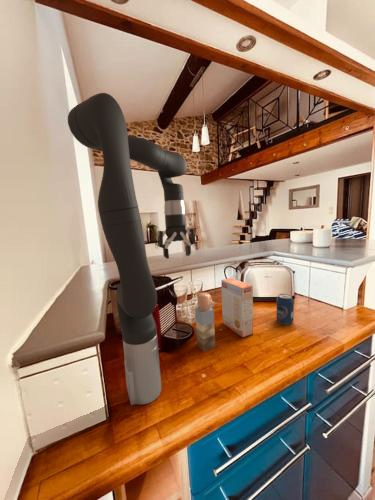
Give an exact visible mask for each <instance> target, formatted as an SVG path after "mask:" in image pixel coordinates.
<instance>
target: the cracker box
mask: <svg viewBox="0 0 375 500" xmlns="http://www.w3.org/2000/svg"><path fill="white" fill-rule="evenodd" d="M253 289H254V288H253V285H252V284H249V283H247V282H243V281H241V280H238V279H236V278H233V277H229V278H225V279H221V306H222V307H221V309H222V314H221V315H222V324H223V325H224V326H226V327H227V328H229V329H230V330H231V331H232V332H234V333H236V335H238V336H240V337H241V338H245V337H248V336H251V335H253V334H254V313H253V312H254V307H253V305H254V301H253V299H254V298H253V291H254V290H253Z"/></svg>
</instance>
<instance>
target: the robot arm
mask: <svg viewBox="0 0 375 500" xmlns="http://www.w3.org/2000/svg"><path fill="white" fill-rule="evenodd" d="M125 119H126V118H125V115H124V113H123V111H122V108H121V106H120V104H119V103H118V101H117V99H115V98H114V97H113V95H111V94H109V93H106V92H99V93H96V94H94V95H92V96H90V97H88V98H87V99H85V100H84V101H82V102H80V103H78V104H76V105H75V106H74V107H73V108H71V109H70V111H69V112H68V115H67V124H68V128H69V130H70V132H71V134H72V136H74V138H75V139H76V140H77V142H79V143H80V144H81V145H82V146H84V147H87V148H89V149H90V150H96V151H99V152H101V153H102V159H103V172H102V178H101V182H100V187H99V191H98V198H97V209H98V215H99V219H100V222H101V227H102V231H103V233H104V234H103V235H104V237H105V241H106V243H107V245H108V248H109V250H110V253H111V255H112V256H113V259H114V261H115V264H116V267H117V271H118V277H119V282H120V283H119V285H118V286H117V288H116V293H115V294H116V306H117V314H118V320H119V322H118V323H119V327H120V332H121V335H122V345H123V353H124V360H123V362H124V363H123V364H124V374H125V381H126V383H125V384H126V390H127V391H126V392H127V393H128V398H129V402H130V406H134V405H147V404H150V403H152V402H153V401H155V400H156V399H157V398H158V397H159V396H160V394H161V393H162V378H161V367H160V354H159V353H160V352H159V343H158V330H157V329H158V328H157V323H156V320H155V318H154V316H153V312H154V311H155V308H156V306H157V304H158V293H157V290H156V286H155V283H154V279H153V276H152V272H151V270H150V266H149V262H148V257H147V250H146V243H145V237H144V233H143V232H144V231H143V225H142V218H141V213H140V210H139V204H138V201H137V196H136V190H135V184H134V178H133V173H132V165H131V164H132V163H131V161H135V162H137V163H139V164H141V165H144V166H145V167H148V168H150V169H152V170H154V171H156V172H157V174H158V177H159V179H160V182H161V187H162V188H163V196H164V197H163V199H164V206H163V207H164V212H163V213H164V222H165V223H164V224H165V225H164V226H165V229H164V230H158V231H157V247H158V248H161V249H162V250H163V251H162V253H163V254H162V255H163V258H165V259H166V260H167V259H169V258H170V257H169V256H170V255H169V254H170V253H169V246H170V245H171V244H172V242H181V241H182V242H183V243H184V245H185V247H184V249H185V256H186V257H190V255H191V254H192V249H191V248H192V247H191V246H192V245H194V244H196V238H195V230H194V228H190V227H189V228H187V227H186V226H187V225H186V224H187V223H186V221H187V220H186V207H185V206H186V205H185V200H184V199H185V197H184V187H183V185H182V184H180V183H174V182H173V180H172V178H178V177H182V176H183V175H184V174H186V172H187V170H188V163H187V161H186V159H185V157H183V155H182V154H180V153H177V152H174V151H171V150H168V149H164V148H163V147H162V146H160V145H159V144H156V143H155V142H153V141H152V140H149V139H146V138H143V137H137V136H133V135H129V134H128V129H127V128H128V127H127V123H126V120H125ZM187 234H188V238H187V236H186V235H187ZM165 236H166V237H167V238H166V239H165V240H164V237H165Z"/></svg>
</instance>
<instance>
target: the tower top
mask: <svg viewBox="0 0 375 500" xmlns="http://www.w3.org/2000/svg"><path fill="white" fill-rule="evenodd" d="M194 310H195V322H196V321H197V322H198V323H199V324H201V325H202V326H204V325H208V324H211V323H214V324H215V312H214V311H215V310H214V308H213V307H210V310H209V311H205V312H203V311H199V310H198V306H197V307H195V309H194Z"/></svg>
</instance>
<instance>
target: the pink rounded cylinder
mask: <svg viewBox="0 0 375 500" xmlns="http://www.w3.org/2000/svg"><path fill="white" fill-rule="evenodd" d="M196 297H197V298H196V299H197V307H198V310H199V311H203V312H205V311H209V310H210V308H211V294H210V293H209V292H206V291H205V292H204V291H203V292H199V293H197V295H196Z"/></svg>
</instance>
